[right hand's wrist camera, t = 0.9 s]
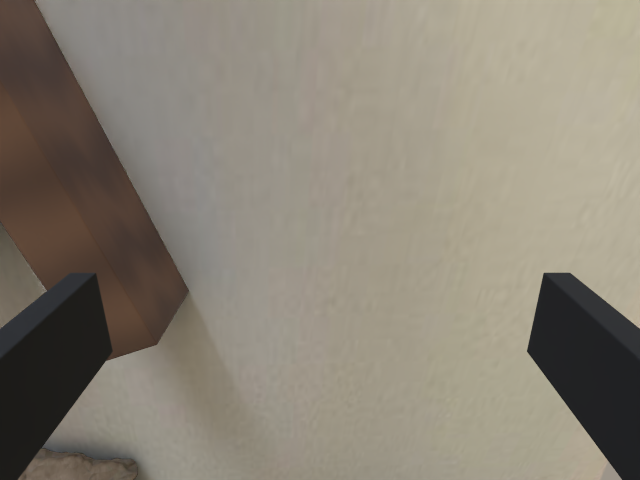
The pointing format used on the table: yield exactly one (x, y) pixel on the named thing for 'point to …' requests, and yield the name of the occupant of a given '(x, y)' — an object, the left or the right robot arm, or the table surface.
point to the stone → (77, 467)
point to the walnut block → (75, 189)
